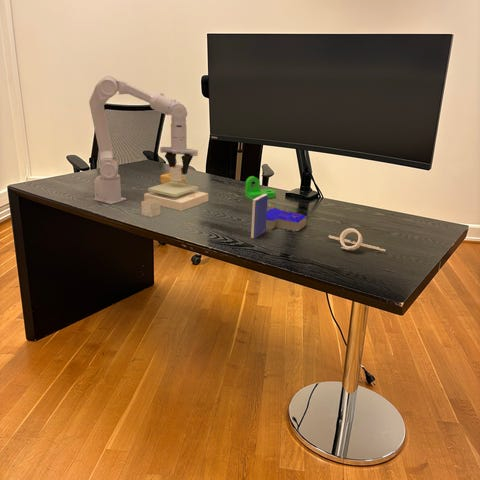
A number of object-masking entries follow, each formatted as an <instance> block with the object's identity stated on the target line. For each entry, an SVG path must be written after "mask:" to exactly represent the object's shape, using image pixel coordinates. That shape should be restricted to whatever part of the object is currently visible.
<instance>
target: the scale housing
mask: <svg viewBox="0 0 480 480" xmlns="http://www.w3.org/2000/svg"><path fill="white" fill-rule="evenodd" d="M148 199H153V200H157V201H160V207H164V208H168V209H172V210H176V211H180V212H183V211H186V210H188V209H191V208H194V207H196V206H199V205H202V204H204V203H207V202H209V193H208V192H202V191H198V190H195V191H192V192H189V193H186V194H183V195H180V196H177V197H172V196H168V195H164V194H159V193H155V192H150V191H148V192H146V193H144V194H143V201H145V200H148Z"/></svg>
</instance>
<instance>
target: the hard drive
mask: <svg viewBox="0 0 480 480" xmlns="http://www.w3.org/2000/svg"><path fill="white" fill-rule="evenodd" d="M268 199H269V198H268V194H263V195H261V196H259V197H257V198H255V199H253V200H252V209H251V233H250V238H251V239H257V238H258V237H260V236H261V235H263V234H265V233H266V232H267V229H266V217H267V211H268Z"/></svg>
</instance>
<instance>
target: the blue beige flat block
mask: <svg viewBox="0 0 480 480" xmlns="http://www.w3.org/2000/svg"><path fill="white" fill-rule="evenodd" d="M306 225H307V215H304V214H301V213H296V212H292V211H285V210H281V209H279V208H276V207H273V208H270V209H267V217H266V230H270V229H271V231H273V230H274V229H280V228H282V229H281V230H285V229H287V230H286V231H290V230H292V231H291V232H295V231H298V232H299V231H300V230H302V229H303V228H304V227H305V226H306ZM275 227H276V228H275ZM272 229H273V230H272Z"/></svg>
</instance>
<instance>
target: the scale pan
mask: <svg viewBox="0 0 480 480" xmlns="http://www.w3.org/2000/svg"><path fill="white" fill-rule="evenodd" d="M198 190H199V186H197V185H192V184H188V183H187V184H183V183H178V182H174V181H171V182H168V183H164V184H162V183H160V184H158V185H155V186H151V187H148V188H147V191H148V192H155V193H159V194H164V195H168V196H172V197H177V196H180V195H183V194H186V193H189V192H192V191H198Z"/></svg>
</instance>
